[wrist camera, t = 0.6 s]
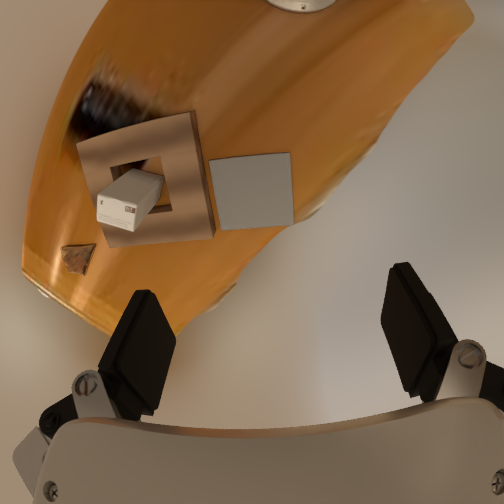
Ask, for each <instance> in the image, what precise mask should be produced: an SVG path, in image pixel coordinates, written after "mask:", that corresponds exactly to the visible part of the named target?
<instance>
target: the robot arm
mask: <svg viewBox="0 0 504 504" xmlns="http://www.w3.org/2000/svg"><path fill="white" fill-rule="evenodd" d="M265 1H267V2H268V3H270V4H271V5H273V6H275V7H277V8H279V9H282V10H286V11H289V12H295V13H312V12H317V11H321V10H323V9H325V8H327V7H329V6H330V5H332V4H333V3H334V2H335V1H336V0H265ZM301 7H303V8H304V9H301ZM381 325H382V328H383V331H384V333H385V336H386V339H387V341H388V344H389V347H390V350H391V353H392V355H393V358H394V361H395V364H396V367H397V370H398V373H399V376H400V379H401V382H402V385H403V388H404V391H405V392H409V395H410V398H412V397H416V396H419V395H420V398H421V400H422V404H419V405H415V406H412V407H408V408H404V409H400V410H396V411H391V412H387V413H382V414H378V415H373V416H368V417H363V418H358V419H353V420H347V421H341V422H334V423H327V424H320V425H310V426H301V427H290V428H273V429H206V428H191V427H179V426H169V425H160V424H152V423H145V422H141V420H140V418H141V414H142V415H149V416H153V414H154V410H156V409H157V408H158V406H159V403H160V399H161V395H162V391H163V388H164V384H165V380H166V376H167V373H168V369H169V365H170V362H171V359H172V355H173V352H174V348H175V345H176V338H175V335H174V333H173V331H172V329H171V327H170V325H169V323H168V321H167V319H166V317H165V315H164V313H163V310H162V308H161V306H160V304H159V302H158V300H157V297H156V295H155V294H154V293H152V292H151V291H150V290H136V291H135V292H134V294H133V296H132V298H131V299H130V301H129V303H128V305H127V307H126V309H125V311H124V313H123V315H122V317H121V319H120V321H119V323H118V325H117V327H116V329H115V331H114V333H113V335H112V337H111V339H110V341H109V343H108V345H107V347H106V349H105V352H104V354H103V356H102V358H101V360H100V362H99V365H98V367H99V369H98V372H97V371H94V370H86V371H84V372H82V373H80V374H79V375H78V376H77V377H76V378H75V380H74V382H73V384H72V394H70V395H68V396H67V397H65V398H64V399H62V400H60V401H59V402H57V403H55V404H54V405H52V406H50V407H49V408H47V409H46V410H45V411H44V412H43V413H42V414H41V417H40V420H39V428H38V427H37V426H36V427H35V428H34V429H33V430H32V431H31V432H30V433H29V434H28V435H27V436H26V438H25V439H24V440H23V441H22V442H21V443H20V444H19V445H18V446H17V447H16V449H15V450H14V453H13V462H14V464H15V466H16V468H17V470H18V472H19V474H20V476H21V477H22V479H23V481H24V483H25V485H26V486H27V488H28V490H29V491H30V493H31V495H32V496H33V498H34V499H33V504H504V368H502V367H499V366H497V365H495V364H492V363H490V362H488V361H486V353H485V350H484V349H483V347H482V346H481V345H480V344H479V343H477V342H475V341H473V340H469V339H466V340H461V341H458V339H457V337H456V335H455V334H454V332H453V330H452V328H451V326H450V325H449V323H448V321H447V319H446V318H445V316H444V315H443V312H442V311H441V309H440V307H439V306H438V304H437V302H436V301H435V299H434V297H433V296H432V295H431V293H429V292H428V291H427V289H426V288H425V286H424V285H423V283H422V281H421V280H420V278H419V277H418V275H417V274H416V272H415V271H414V269H413V268H412V267H411V265H410V263H409V262H403V263H396V264H394V266H393V268H390V270H389V275H388V281H387V287H386V294H385V298H384V304H383V309H382V313H381Z"/></svg>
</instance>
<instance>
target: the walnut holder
mask: <svg viewBox="0 0 504 504" xmlns="http://www.w3.org/2000/svg"><path fill="white" fill-rule="evenodd" d="M76 145H77V149H78V153H79V157H80V161H81V164H82V168H83V172H84V175H85V179H86V182H87V185H88V188H89V192H90V195H91V198H92V201H93V204H94V207H95V210H96V213H97V197H98V194H99V193H100V192H101V191H103V190H104V189H105V188H106V187H108V186H109V185H110V184H112V183H113V182H114V181H116V180H117V179H118V178H120V177H121V176H122V175H121V171H120V167H119V165H121V164H125V163H130V162H134V161H139V160H143V159H148V158H153V157H158V156H160V158H161V163H162V168H163V172H164V176H165V181H166V185H167V189H168V193H169V198H170V202H171V204H170V205H163V206H155V207H153V208H152V209H151V210H150V211H149V213H148V214H147V215H146V216H145V218H144V219H143V220H142V222H141V223H140V224H139V226H138V227H137V228H136V229H135V231H134V232H132V231H129V230H126V229H122V228H119V227H116V226H112V225H109V224H106V223H102V222H100V224H101V227H102V230H103V232H104V235H105V238H106V240H107V243H108V245H109V248H115V247H125V246H135V245H146V244H157V243H168V242H179V241H191V240H203V239H213V237H214V234H215V231H216V227H215V222H214V217H213V212H212V207H211V201H210V196H209V191H208V185H207V180H206V174H205V169H204V163H203V157H202V152H201V146H200V140H199V134H198V128H197V122H196V115H195V111H190V112H185V113H180V114H175V115H171V116H166V117H162V118H158V119H153V120H149V121H145V122H141V123H138V124H134V125H130V126H127V127H123V128H120V129H117V130H113V131H110V132H107V133H104V134H101V135H98V136H95V137H92V138H89V139H86V140H84V141H81V142H79V143H77V144H76Z"/></svg>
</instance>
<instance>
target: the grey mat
mask: <svg viewBox="0 0 504 504" xmlns="http://www.w3.org/2000/svg"><path fill="white" fill-rule="evenodd" d="M209 164H210V170H211V176H212V182H213V187H214V193H215V199H216V204H217V210H218V215H219V221H220V226H221V231H222V230H234V229H246V228H259V227H272V226H286V225H294V215H293V195H292V178H291V163H290V152H286V153H272V154H260V155H249V156H239V157H230V158H222V159H214V160H209Z"/></svg>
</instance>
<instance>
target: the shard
mask: <svg viewBox="0 0 504 504" xmlns="http://www.w3.org/2000/svg"><path fill="white" fill-rule="evenodd" d="M94 250H95V244H89V245H86V246H76V247H61V254H62V257H63V260H64V262H65V264H66V266H67V269H68V271H69V272H70V273H78V274H83V275H84V276H85V275H86V272H87V269H88V265H89V262H90V260H91V258H92V255H93V253H94Z"/></svg>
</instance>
